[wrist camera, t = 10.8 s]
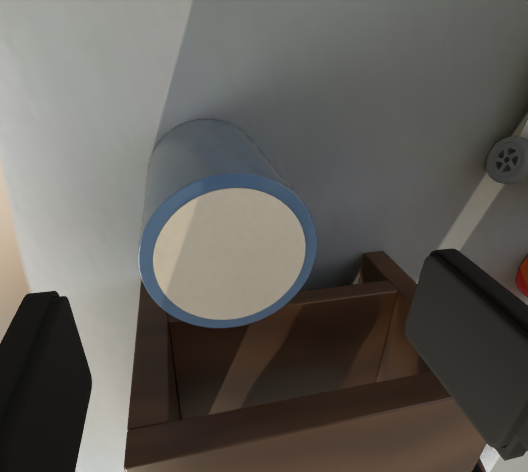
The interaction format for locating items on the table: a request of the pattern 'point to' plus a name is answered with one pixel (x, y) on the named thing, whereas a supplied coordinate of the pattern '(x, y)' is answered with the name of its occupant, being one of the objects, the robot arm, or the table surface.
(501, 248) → the table surface
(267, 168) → the blue cup
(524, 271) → the coffee cup
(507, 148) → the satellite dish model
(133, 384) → the walnut shelf
